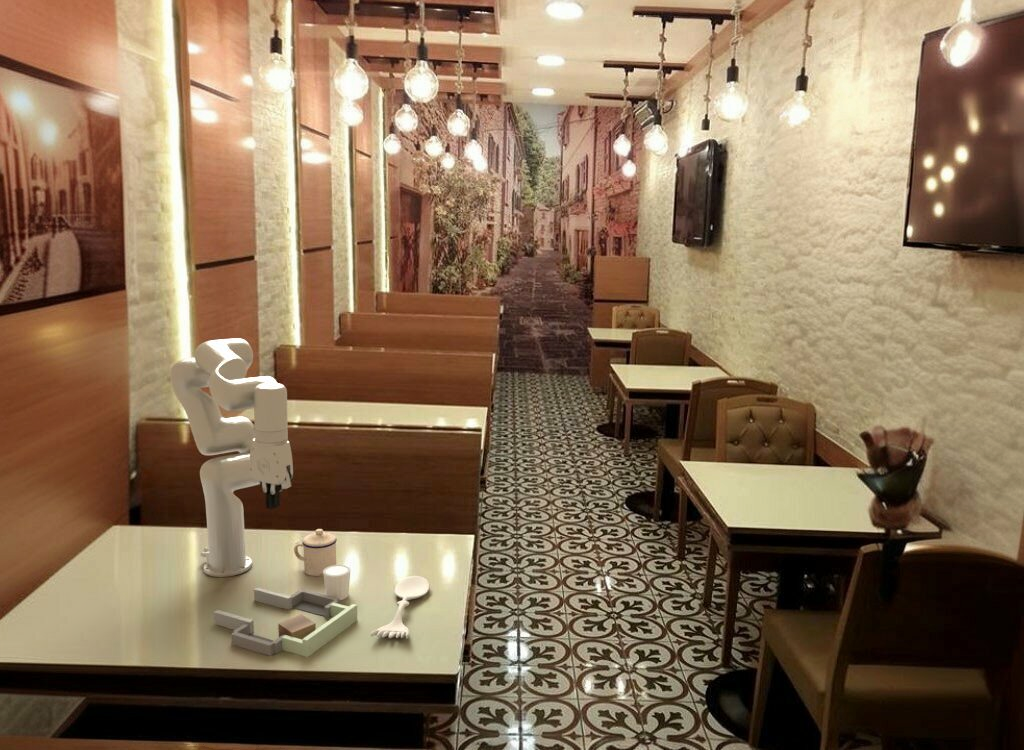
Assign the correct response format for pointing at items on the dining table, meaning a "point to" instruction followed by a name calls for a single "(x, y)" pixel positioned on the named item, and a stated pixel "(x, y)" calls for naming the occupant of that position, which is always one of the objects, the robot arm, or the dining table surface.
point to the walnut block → (297, 627)
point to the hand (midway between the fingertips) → (272, 507)
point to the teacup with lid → (317, 552)
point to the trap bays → (268, 647)
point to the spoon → (403, 605)
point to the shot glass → (337, 581)
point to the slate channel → (304, 647)
